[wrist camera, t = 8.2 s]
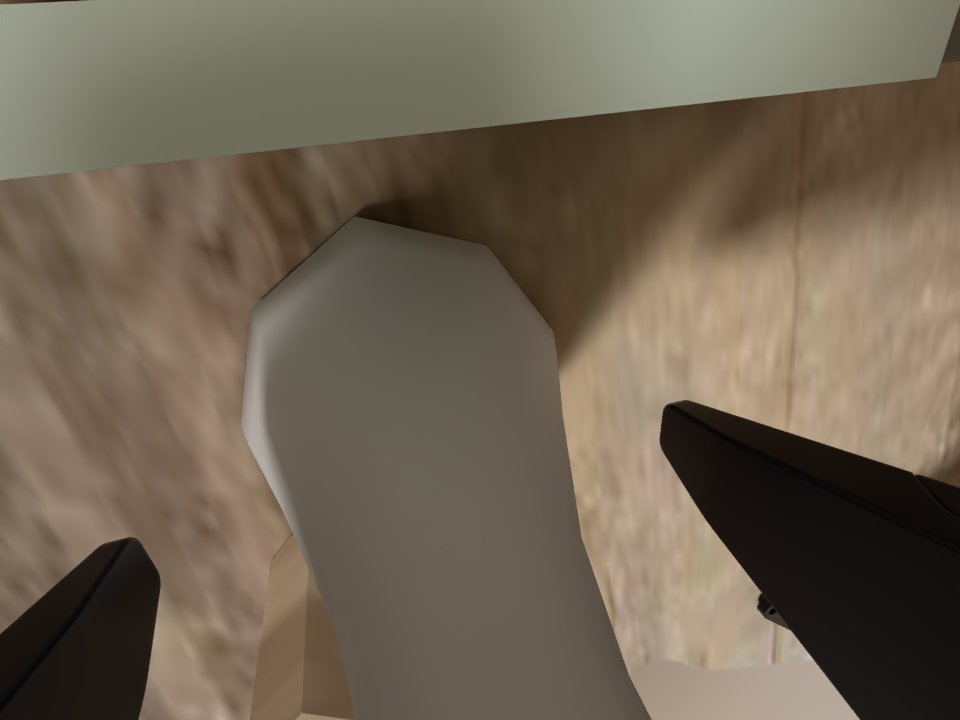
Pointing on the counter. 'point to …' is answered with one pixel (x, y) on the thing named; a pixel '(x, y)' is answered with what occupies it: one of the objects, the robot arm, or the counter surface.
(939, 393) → the counter surface
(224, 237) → the counter surface
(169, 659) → the counter surface
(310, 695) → the door frame
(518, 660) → the flask
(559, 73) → the door
